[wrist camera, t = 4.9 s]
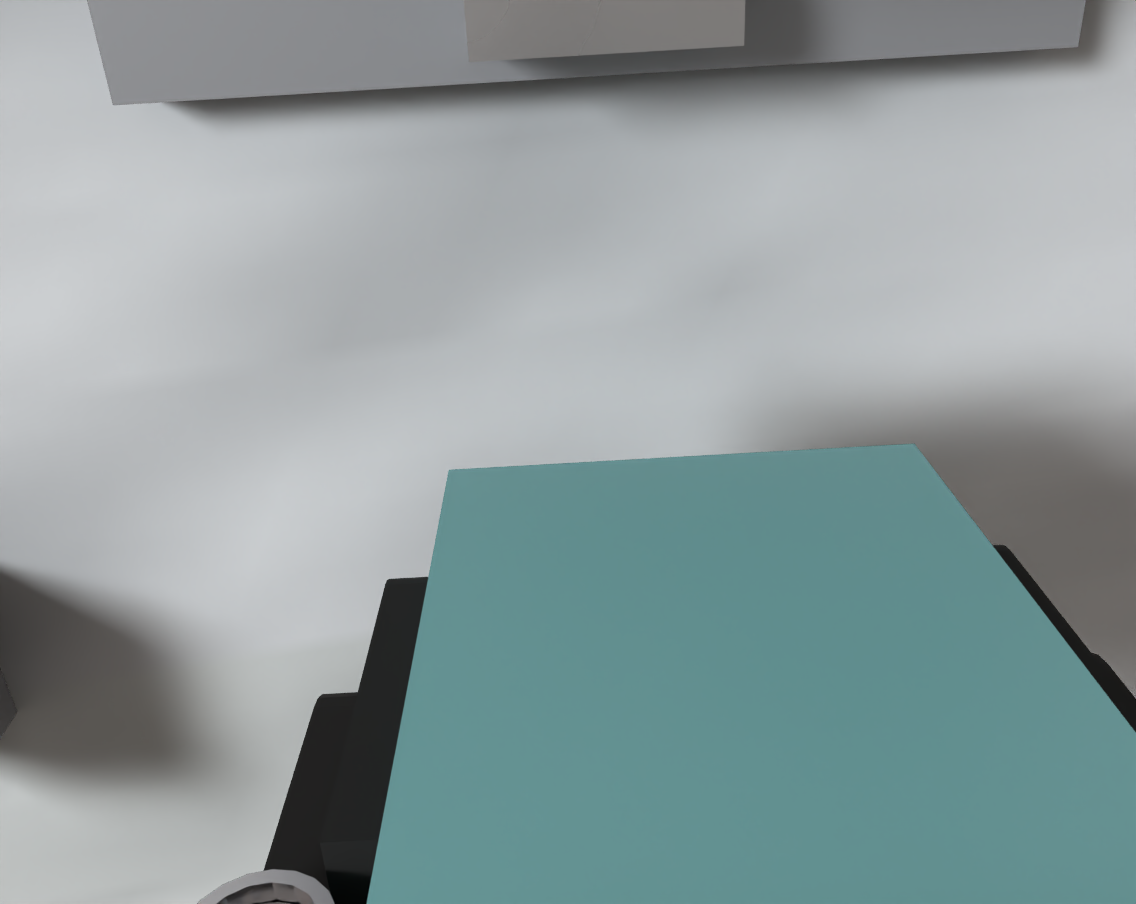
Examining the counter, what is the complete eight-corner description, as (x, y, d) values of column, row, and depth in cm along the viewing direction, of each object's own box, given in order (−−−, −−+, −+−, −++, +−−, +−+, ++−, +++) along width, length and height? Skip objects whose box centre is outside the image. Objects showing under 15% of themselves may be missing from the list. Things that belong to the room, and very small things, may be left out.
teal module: (914, 443, 12) (1293, 941, 6) (884, 740, 14) (1146, 1346, 8) (448, 470, 12) (350, 992, 6) (482, 762, 14) (434, 1382, 8)
